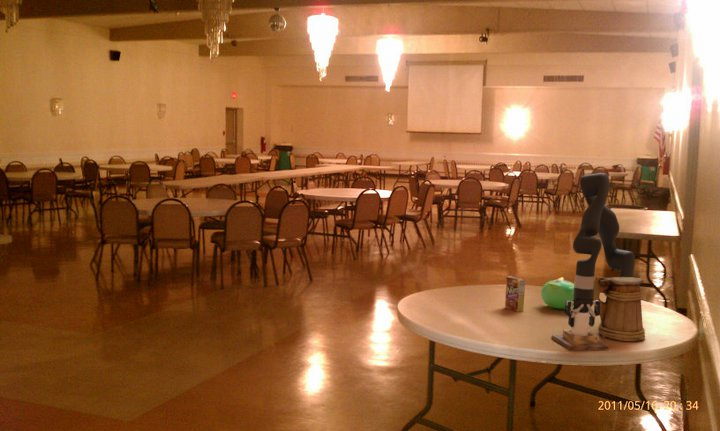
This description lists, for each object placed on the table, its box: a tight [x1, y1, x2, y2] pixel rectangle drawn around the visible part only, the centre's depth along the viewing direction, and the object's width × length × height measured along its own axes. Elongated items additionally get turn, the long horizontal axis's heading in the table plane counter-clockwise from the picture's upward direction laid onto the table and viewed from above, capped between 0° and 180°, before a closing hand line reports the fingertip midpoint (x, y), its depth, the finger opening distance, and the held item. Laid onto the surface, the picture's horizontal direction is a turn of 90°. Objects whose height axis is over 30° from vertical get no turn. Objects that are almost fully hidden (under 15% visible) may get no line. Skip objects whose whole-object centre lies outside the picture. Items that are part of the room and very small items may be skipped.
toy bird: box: [540, 276, 574, 310], centre depth 337 cm, size 18×17×15 cm
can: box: [570, 309, 590, 336], centre depth 278 cm, size 6×6×12 cm
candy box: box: [504, 275, 526, 312], centre depth 331 cm, size 9×4×15 cm, turn 31°
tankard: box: [593, 276, 646, 342], centre depth 292 cm, size 18×24×25 cm
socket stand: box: [551, 329, 609, 351], centre depth 279 cm, size 16×16×4 cm
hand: (581, 326), depth 278 cm, fingers open, 8 cm apart
